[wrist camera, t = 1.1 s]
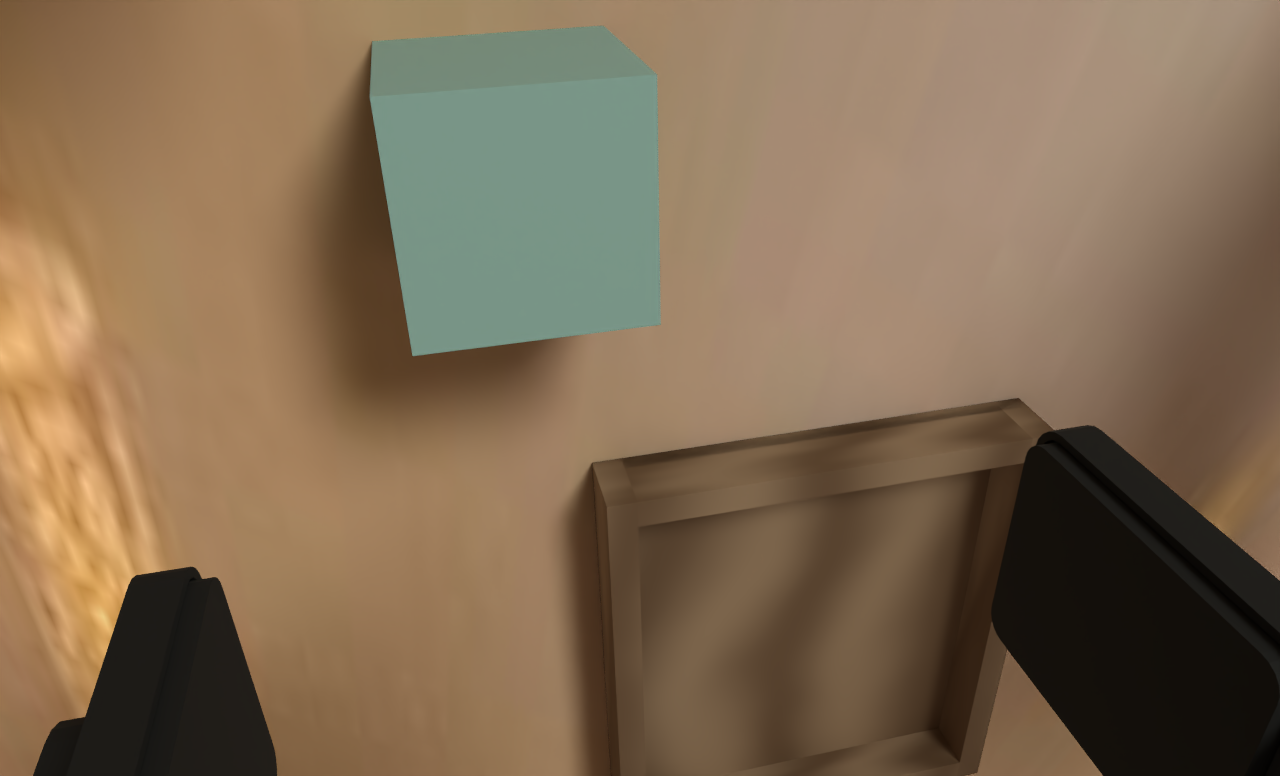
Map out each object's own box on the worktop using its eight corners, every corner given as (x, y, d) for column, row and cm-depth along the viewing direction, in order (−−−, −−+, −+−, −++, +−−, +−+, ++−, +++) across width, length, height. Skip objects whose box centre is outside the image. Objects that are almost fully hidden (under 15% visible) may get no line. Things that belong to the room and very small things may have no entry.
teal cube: (602, 24, 26) (656, 74, 21) (611, 236, 29) (660, 324, 24) (372, 40, 24) (369, 97, 19) (407, 258, 28) (412, 356, 23)
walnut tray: (1018, 398, 35) (1059, 434, 33) (949, 728, 45) (976, 772, 43) (592, 463, 32) (606, 507, 30) (612, 801, 42) (624, 853, 40)
